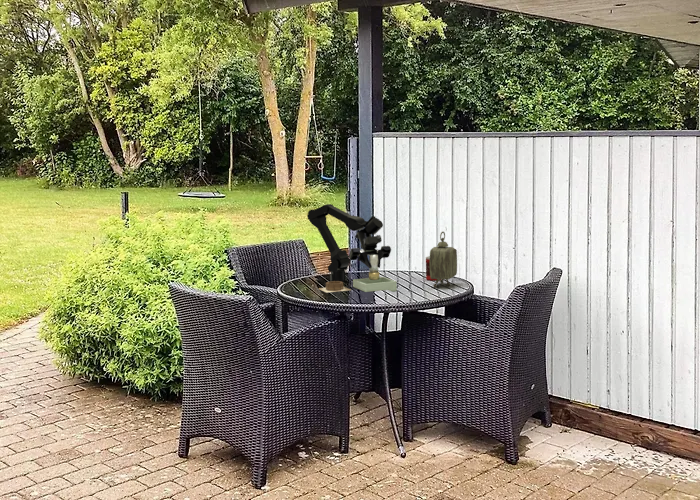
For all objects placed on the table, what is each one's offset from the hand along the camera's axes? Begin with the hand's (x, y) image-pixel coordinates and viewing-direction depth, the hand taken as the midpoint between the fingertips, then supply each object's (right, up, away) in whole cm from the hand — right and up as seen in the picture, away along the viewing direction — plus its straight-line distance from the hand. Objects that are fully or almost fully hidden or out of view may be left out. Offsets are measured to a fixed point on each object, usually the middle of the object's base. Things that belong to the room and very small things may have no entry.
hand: (374, 267), depth 348 cm
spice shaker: (0, -5, +2) cm, 5 cm away
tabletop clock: (+32, -9, +8) cm, 34 cm away
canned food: (+29, -7, +26) cm, 40 cm away
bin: (0, -10, +3) cm, 11 cm away
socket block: (-18, -11, +2) cm, 21 cm away
